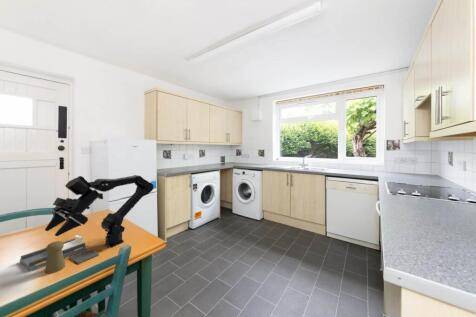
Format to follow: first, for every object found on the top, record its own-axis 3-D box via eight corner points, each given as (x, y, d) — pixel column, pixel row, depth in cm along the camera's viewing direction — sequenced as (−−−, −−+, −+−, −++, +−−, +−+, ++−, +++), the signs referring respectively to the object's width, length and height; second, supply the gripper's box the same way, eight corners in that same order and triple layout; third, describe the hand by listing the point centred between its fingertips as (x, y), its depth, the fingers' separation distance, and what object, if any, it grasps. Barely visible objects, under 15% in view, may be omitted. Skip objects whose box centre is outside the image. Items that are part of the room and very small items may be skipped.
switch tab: (76, 241, 96) (76, 234, 96) (83, 244, 93) (83, 238, 93) (50, 250, 88) (50, 242, 87) (57, 254, 84) (57, 247, 84)
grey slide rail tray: (74, 243, 98) (74, 237, 98) (86, 249, 92) (86, 243, 92) (20, 262, 81) (19, 255, 81) (30, 271, 75) (30, 264, 75)
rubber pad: (90, 250, 92) (90, 249, 92) (99, 255, 88) (99, 254, 88) (69, 258, 84) (69, 257, 84) (78, 264, 81) (78, 263, 81)
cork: (69, 264, 81) (68, 239, 80) (56, 273, 75) (55, 246, 74) (54, 264, 80) (54, 239, 80) (40, 273, 74) (39, 246, 74)
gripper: (59, 187, 85) (22, 218, 75) (80, 193, 77) (41, 227, 67) (79, 202, 92) (47, 231, 82) (100, 208, 84) (68, 242, 74)
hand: (50, 233), depth 76 cm, fingers open, 9 cm apart
